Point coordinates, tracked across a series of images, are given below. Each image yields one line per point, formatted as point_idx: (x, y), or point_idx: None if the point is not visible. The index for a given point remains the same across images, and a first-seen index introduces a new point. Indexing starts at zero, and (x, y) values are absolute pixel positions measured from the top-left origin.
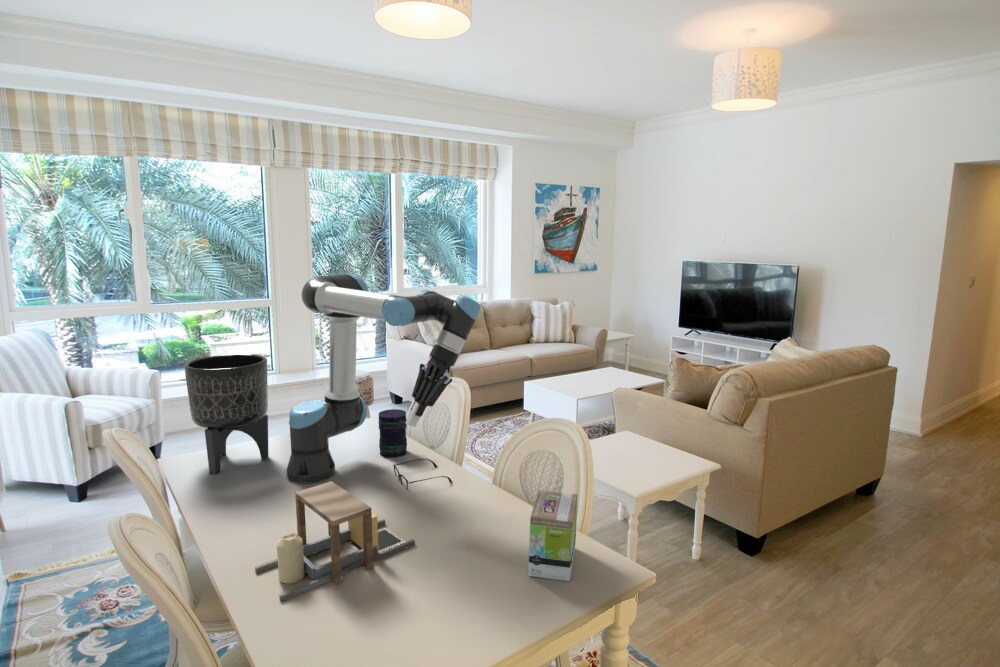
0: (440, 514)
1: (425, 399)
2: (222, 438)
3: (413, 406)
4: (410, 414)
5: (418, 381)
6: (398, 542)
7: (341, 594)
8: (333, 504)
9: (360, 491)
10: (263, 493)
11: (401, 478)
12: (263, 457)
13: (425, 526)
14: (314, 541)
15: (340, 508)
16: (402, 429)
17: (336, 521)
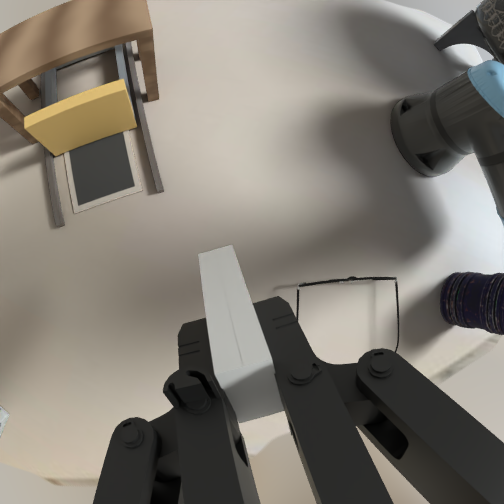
0: (151, 317)
1: (185, 456)
2: (474, 38)
3: (255, 323)
4: (232, 283)
5: (483, 482)
6: (77, 199)
7: (11, 100)
8: (38, 32)
9: (331, 188)
10: (370, 57)
11: (341, 281)
12: None
13: (113, 269)
14: (122, 58)
15: (15, 45)
16: (482, 321)
17: None
